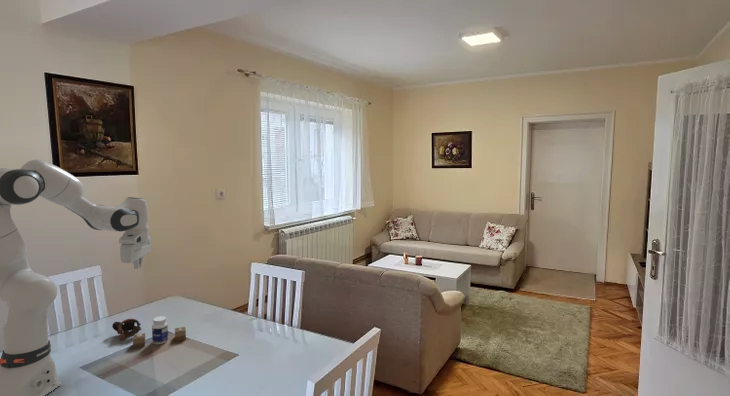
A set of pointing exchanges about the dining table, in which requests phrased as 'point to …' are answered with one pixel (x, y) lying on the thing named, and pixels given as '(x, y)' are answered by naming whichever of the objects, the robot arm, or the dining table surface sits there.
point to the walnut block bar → (180, 333)
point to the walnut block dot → (139, 340)
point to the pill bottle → (159, 330)
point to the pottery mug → (127, 328)
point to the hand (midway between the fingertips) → (137, 268)
